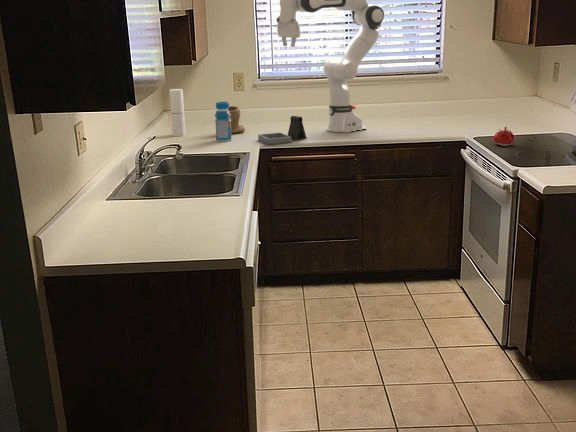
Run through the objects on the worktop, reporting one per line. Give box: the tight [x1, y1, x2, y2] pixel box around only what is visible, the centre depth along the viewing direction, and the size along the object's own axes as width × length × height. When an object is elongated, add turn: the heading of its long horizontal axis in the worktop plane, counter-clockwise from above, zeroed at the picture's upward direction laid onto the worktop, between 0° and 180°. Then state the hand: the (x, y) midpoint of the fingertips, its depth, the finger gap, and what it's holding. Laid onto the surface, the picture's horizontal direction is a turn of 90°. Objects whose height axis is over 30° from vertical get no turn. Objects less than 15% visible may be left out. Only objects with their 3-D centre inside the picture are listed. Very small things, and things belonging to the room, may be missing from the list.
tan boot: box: [228, 105, 246, 134], centre depth 356 cm, size 15×12×15 cm
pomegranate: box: [492, 126, 515, 144], centre depth 316 cm, size 10×10×9 cm
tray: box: [257, 131, 292, 146], centre depth 334 cm, size 13×14×3 cm
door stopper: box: [287, 115, 307, 142], centre depth 339 cm, size 9×6×12 cm, turn 134°
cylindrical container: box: [169, 88, 187, 137], centre depth 351 cm, size 7×7×25 cm
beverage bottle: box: [214, 101, 233, 143], centre depth 336 cm, size 8×8×20 cm
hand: (288, 46), depth 336 cm, fingers open, 8 cm apart
